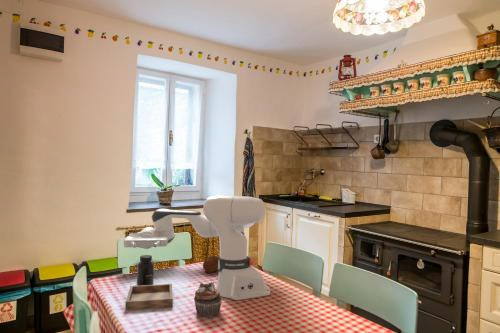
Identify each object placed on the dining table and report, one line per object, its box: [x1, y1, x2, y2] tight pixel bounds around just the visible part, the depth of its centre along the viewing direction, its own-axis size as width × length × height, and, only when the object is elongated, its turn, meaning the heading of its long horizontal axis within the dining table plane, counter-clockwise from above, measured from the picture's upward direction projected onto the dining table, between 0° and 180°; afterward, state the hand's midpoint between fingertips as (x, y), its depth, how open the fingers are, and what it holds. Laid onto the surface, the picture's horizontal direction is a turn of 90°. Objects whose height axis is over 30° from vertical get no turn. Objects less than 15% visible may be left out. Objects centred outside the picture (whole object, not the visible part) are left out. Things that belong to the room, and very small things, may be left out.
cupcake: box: [193, 281, 223, 319], centre depth 119 cm, size 10×10×10 cm
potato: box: [202, 255, 219, 274], centre depth 166 cm, size 8×11×8 cm
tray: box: [125, 283, 174, 311], centre depth 129 cm, size 16×16×3 cm
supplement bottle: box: [136, 254, 155, 286], centre depth 146 cm, size 7×7×12 cm
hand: (145, 245), depth 159 cm, fingers open, 8 cm apart
